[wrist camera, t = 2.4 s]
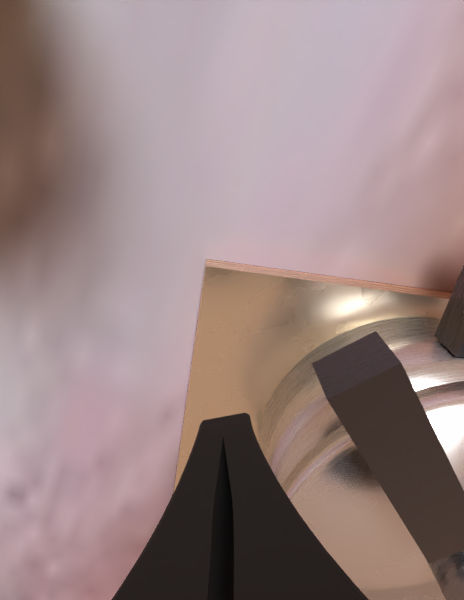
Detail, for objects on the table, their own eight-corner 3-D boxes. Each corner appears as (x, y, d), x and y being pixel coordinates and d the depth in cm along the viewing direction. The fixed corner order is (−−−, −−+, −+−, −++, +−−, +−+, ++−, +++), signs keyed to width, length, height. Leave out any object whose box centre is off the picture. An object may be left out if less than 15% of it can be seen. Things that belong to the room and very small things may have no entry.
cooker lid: (641, 550, 18) (713, 621, 15) (350, 654, 20) (370, 730, 18) (567, 203, 11) (676, 228, 8) (139, 427, 13) (123, 498, 11)
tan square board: (623, 233, 18) (801, 281, 13) (444, 542, 27) (503, 648, 21) (219, 166, 16) (223, 188, 10) (168, 525, 25) (156, 639, 19)
